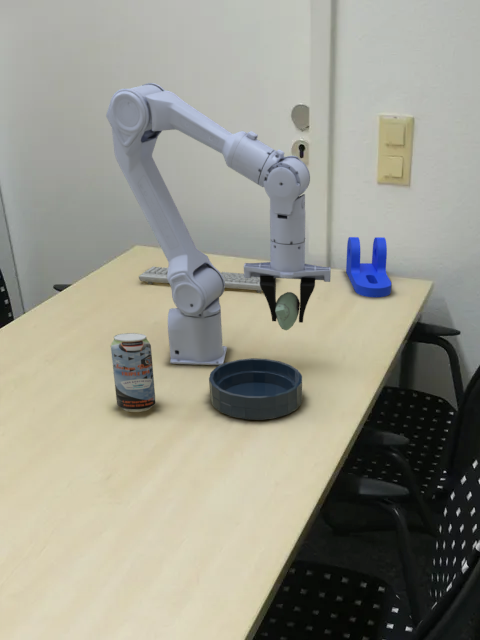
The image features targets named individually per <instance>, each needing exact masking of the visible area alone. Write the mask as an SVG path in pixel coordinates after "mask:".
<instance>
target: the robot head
mask: <svg viewBox="0 0 480 640" xmlns="http://www.w3.org/2000/svg"><path fill="white" fill-rule="evenodd" d="M275 309H276V310H275V312H276V316H277V319H276V321H277V324H278V325H279V327H280V329H282V330H284V331H289V330H290V329H291V328H293V326H294V325H295V323H296V322H297V319H298V318H299V311H300V298H299V297H298V296H297V295H296V294H295V293H294V292H292V291H287V292H284V293H283V294H281V295H279V297H278V298H277V299H276V308H275Z"/></svg>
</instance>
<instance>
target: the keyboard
mask: <svg viewBox="0 0 480 640" xmlns="http://www.w3.org/2000/svg"><path fill="white" fill-rule="evenodd" d="M219 272H220V273H221V274H222V276H223V278H224V281H225V289H237V290H239V289H240V290H251V291H256V293H260V294H261V293H263V291H262V289H261V287H260V277H251V278H244V273H241V272H229V271H219ZM167 274H168V267H162V266H151V267H150V268H148V269H147V270H145V271H143V272H142V273H141V274H139V275H138V279H139V281H140V282H147V285H153V284H154V283H159V284H160V283H162V284H169V282H168V280H167Z"/></svg>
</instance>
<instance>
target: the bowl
mask: <svg viewBox="0 0 480 640" xmlns="http://www.w3.org/2000/svg"><path fill="white" fill-rule="evenodd" d="M208 385H209V399H210V403H211V404H212V407H213V408H215V409H216V410H217V411H218V412H220V413H222V414H223V415H226V416H228V417H232V418H236V419H237V418H238V419H242V420H254V421H255V420H256V421H262V420H272V419H277V418H280V417H284V416H287V415H289V414H291V413H293V412H294V411H296V410H298V408H299V407H300V406H301V405H302V402H303V375H302V374H301V372H300V371H299V369H297V368H296V367H294V366H292V365H291V364H290V363H286V362H283V361H281V360H275V359H270V358H257V357H255V358H254V357H253V358H252V357H250V358H240V359H239V358H238V359H235V360H231V361H227V362H224V363H223V364H222V365H217V366H216V367H215V368H214V369H213V370H212V371H210V374H209V377H208Z"/></svg>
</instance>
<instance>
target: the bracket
mask: <svg viewBox="0 0 480 640" xmlns="http://www.w3.org/2000/svg"><path fill="white" fill-rule="evenodd" d="M346 244H347V245H346V263H345V266H346V267H345V268H346V269H345V273H346V275H347V276H348V279H349V281H350V283H351V286H352V288H353V290H354V292H355V293H356V294H357V295H359V296H362V297H366V298H386V297H388V296H390V294H392V281H391V280H390V277H389V276H388V274H387V256H388V247H387V240H386V238H385V237H384V236H383V237H374V238H373V242H372V254H371V262H370V263H368V262H362V263H361V240H360V238H359V237H358V236H349V237H348V238H347V243H346Z"/></svg>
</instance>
